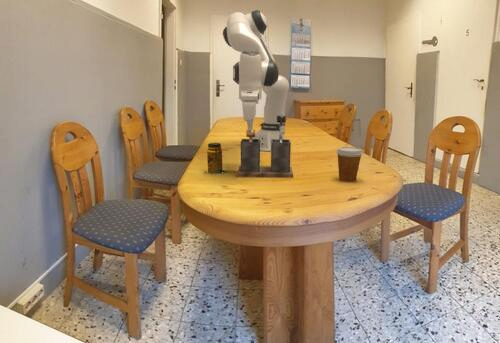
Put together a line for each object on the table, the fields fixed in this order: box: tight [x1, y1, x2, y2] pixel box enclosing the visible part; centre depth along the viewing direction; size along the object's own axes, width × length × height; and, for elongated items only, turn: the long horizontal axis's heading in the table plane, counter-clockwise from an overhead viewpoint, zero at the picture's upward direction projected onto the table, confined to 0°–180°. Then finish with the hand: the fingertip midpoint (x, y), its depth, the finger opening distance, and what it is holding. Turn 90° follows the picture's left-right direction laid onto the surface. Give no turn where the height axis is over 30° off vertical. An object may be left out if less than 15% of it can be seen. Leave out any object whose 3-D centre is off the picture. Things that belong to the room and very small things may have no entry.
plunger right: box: [277, 115, 287, 142], centre depth 147 cm, size 5×5×12 cm
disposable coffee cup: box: [336, 146, 363, 183], centre depth 142 cm, size 10×10×12 cm
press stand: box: [236, 138, 294, 179], centre depth 150 cm, size 22×12×14 cm, turn 87°
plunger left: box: [245, 129, 256, 142], centre depth 149 cm, size 5×5×12 cm
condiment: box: [206, 142, 229, 176], centre depth 153 cm, size 7×8×12 cm
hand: (250, 130), depth 148 cm, fingers closed, pressing on plunger left
